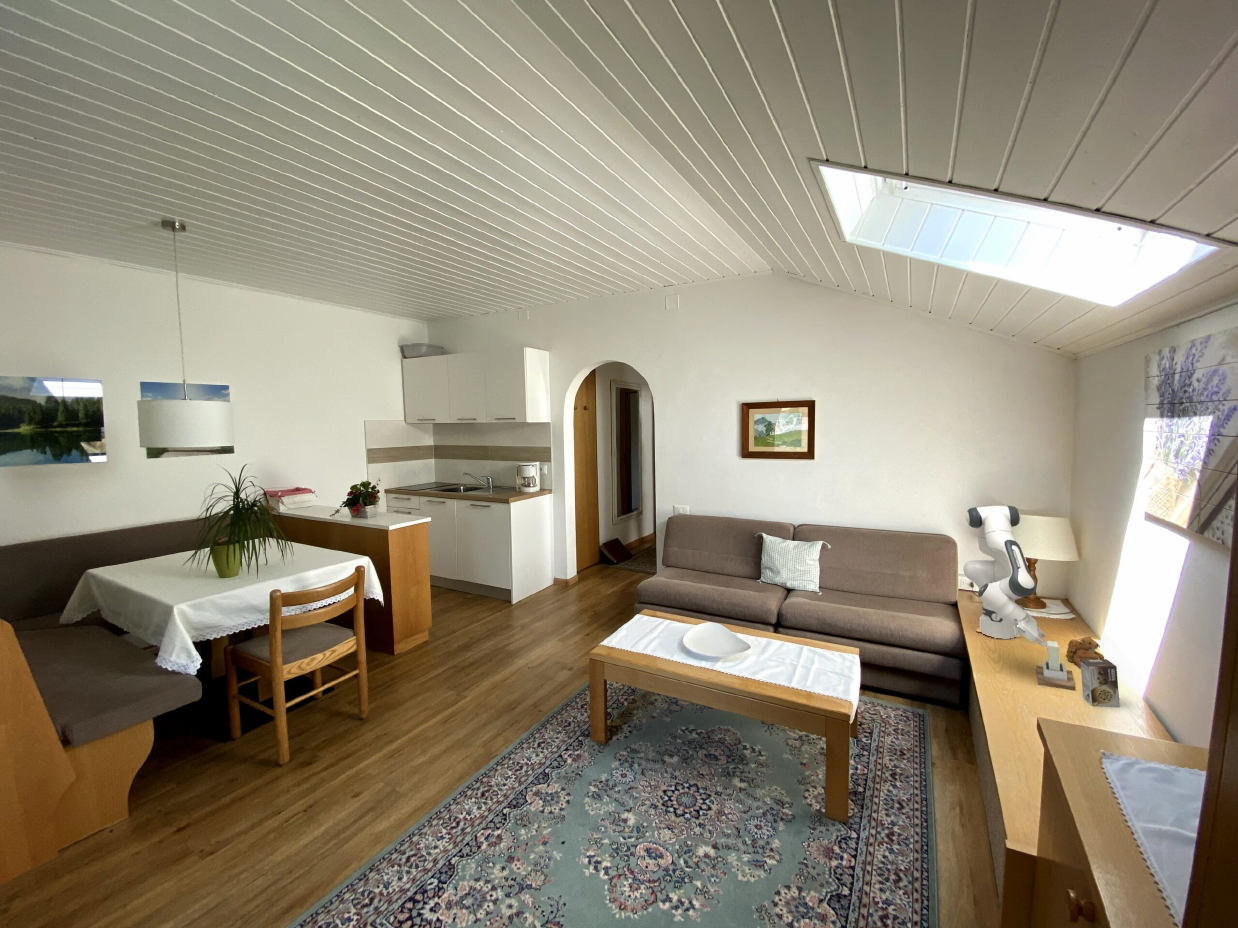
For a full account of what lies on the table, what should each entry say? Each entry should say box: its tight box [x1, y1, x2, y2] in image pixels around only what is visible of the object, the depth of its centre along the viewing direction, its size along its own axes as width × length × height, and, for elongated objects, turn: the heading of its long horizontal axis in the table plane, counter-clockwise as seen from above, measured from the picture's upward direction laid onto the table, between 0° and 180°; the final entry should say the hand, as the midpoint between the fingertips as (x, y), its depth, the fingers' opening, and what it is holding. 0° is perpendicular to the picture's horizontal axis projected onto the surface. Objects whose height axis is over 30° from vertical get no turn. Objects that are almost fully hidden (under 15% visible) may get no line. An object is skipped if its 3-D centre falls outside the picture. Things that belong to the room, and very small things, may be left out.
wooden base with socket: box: [1036, 660, 1076, 691], centre depth 223 cm, size 16×12×6 cm
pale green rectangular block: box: [1046, 640, 1061, 671], centre depth 223 cm, size 6×4×14 cm, turn 143°
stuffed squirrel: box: [1065, 635, 1105, 669], centre depth 232 cm, size 10×14×13 cm
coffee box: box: [1080, 658, 1121, 707], centre depth 203 cm, size 9×6×16 cm
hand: (1045, 640), depth 224 cm, fingers open, 8 cm apart
